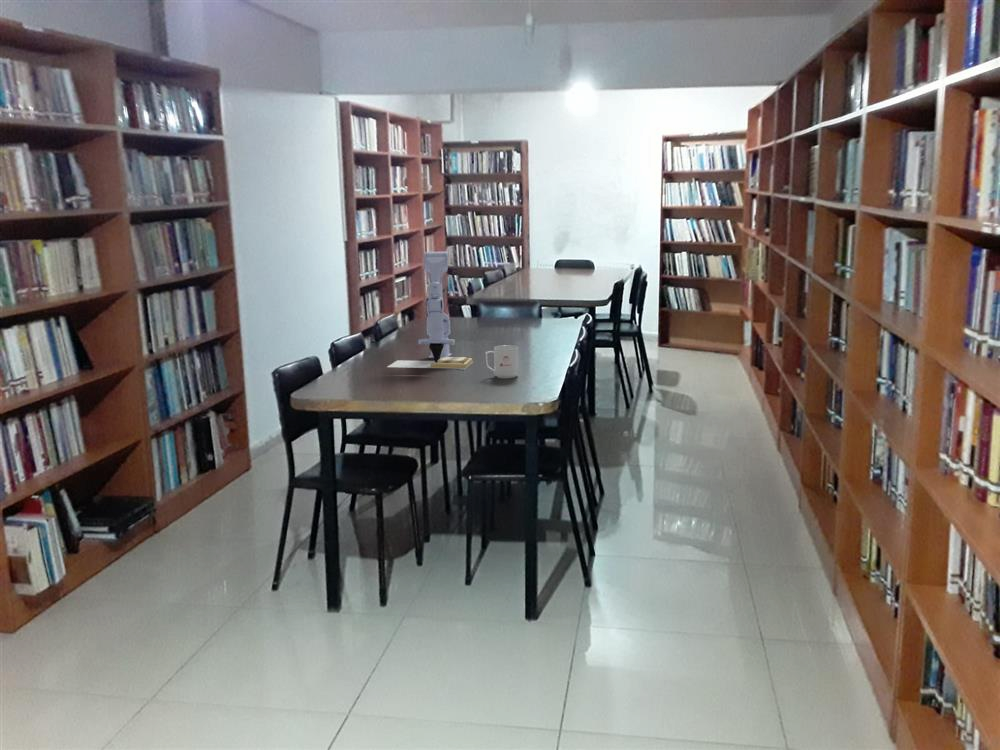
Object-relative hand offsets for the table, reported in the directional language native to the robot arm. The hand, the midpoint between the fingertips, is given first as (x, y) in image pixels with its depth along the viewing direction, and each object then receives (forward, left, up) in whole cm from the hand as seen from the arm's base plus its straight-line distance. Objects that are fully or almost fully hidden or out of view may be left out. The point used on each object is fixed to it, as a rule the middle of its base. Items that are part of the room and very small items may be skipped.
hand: (437, 362), depth 351 cm
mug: (+18, +30, -2) cm, 35 cm away
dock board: (0, -3, -1) cm, 3 cm away
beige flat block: (0, +6, -1) cm, 6 cm away
